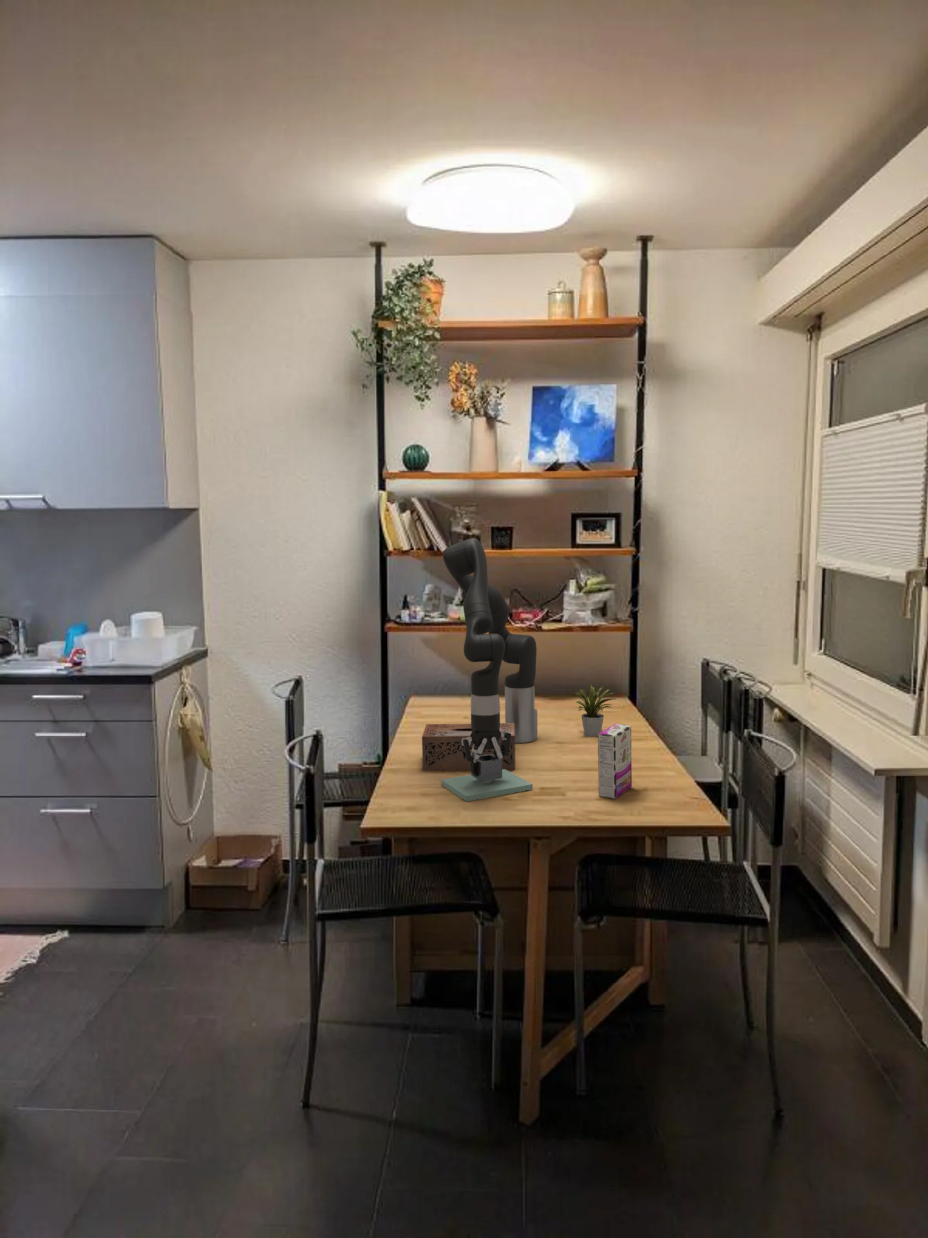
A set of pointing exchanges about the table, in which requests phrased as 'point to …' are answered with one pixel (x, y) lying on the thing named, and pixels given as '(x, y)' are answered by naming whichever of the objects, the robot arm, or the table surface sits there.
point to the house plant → (592, 712)
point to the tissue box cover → (457, 747)
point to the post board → (486, 786)
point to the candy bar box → (614, 761)
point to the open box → (489, 768)
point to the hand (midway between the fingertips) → (486, 773)
